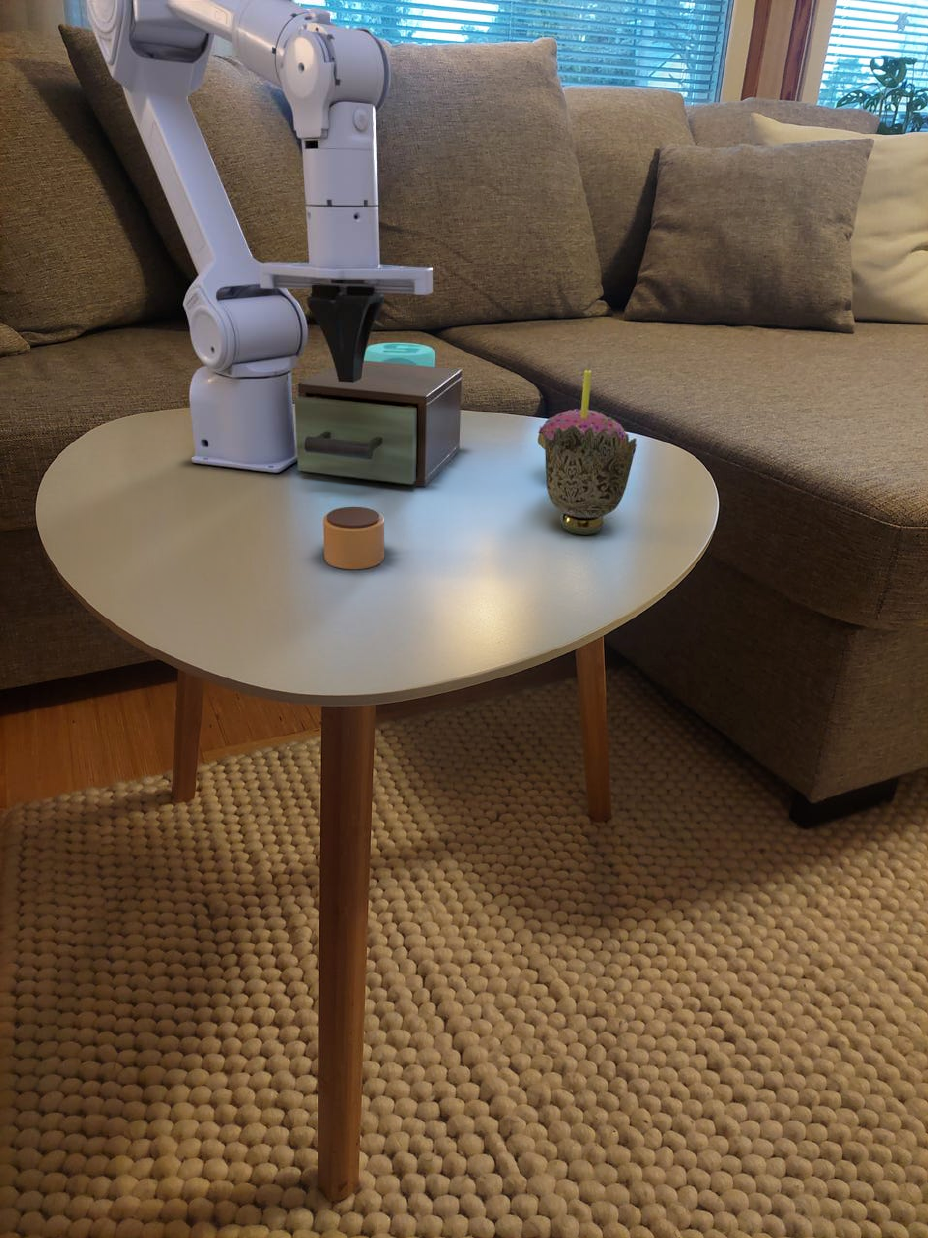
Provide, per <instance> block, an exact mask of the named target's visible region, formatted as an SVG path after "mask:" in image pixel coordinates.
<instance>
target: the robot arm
mask: <svg viewBox="0 0 928 1238" xmlns="http://www.w3.org/2000/svg"><path fill="white" fill-rule="evenodd" d="M86 18H87V21H88V23H89V26H90V28H91V30H92V33H93V35H94V37H95V39H96V42H97V45H98V47H99V49H100V51H101V54H102V56H103V59H104V61H105V64H106V66H107V68H108V71H109V73H110V75H111V77H112V79H113V80H115V81H116V82H117V83H118V84H119V85H121V87H122V90H123V94H124V97H125V100H126V103H127V105H128V108H129V111H130V113H131V116H132V118H133V121H134V123H135V125H136V128H137V130H138V133H139V136H140V137H141V140H142V142H143V145H144V147H145V149H146V152H147V154H148V156H149V160H150V161H151V164H152V167H153V169H154V171H155V173H156V176H157V179H158V180H159V183H160V185H161V188H162V190H163V192H164V195H165V198H166V199H167V200H166V201H167V202H168V204H169V205H168V206H169V207H170V209H171V212H172V214H173V217H174V219H175V221H176V224H177V226H178V229H179V231H180V233H181V236H182V238H183V241H184V243H185V245H186V248H187V250H188V253H189V256H190V258H191V260H192V263H193V265H194V267H195V269H196V272H197V274H198V275H197V276H196V278H195V279H194V281H193V282H192V283H191V285H190V286H189V288H188V289H187V291H186V293H185V296H184V298H183V303H182V306H183V308H184V311H185V313H186V317H187V321H188V325H189V335H190V339H191V344H192V347H193V350H194V352H195V354H196V355H197V357H198V359H199V360H200V361H201V362H202V364H203V365H204V366H200V368H198V369H197V370H196V371H195V372H194V374H193V376H192V378H191V381H190V385H189V394H188V395H189V399H188V400H189V409H190V420H191V429H192V436H193V446H194V456H192V457H191V463H194V464H201V465H209V466H215V467H216V466H217V467H223V468H224V467H225V468H231V469H241V470H247V471H248V470H249V471H250V470H251V471H257V472H266V473H274V474H279V473H281V472H282V471H284V470H286V469H287V468H288V467H290V466H291V465H292V464H295V463H296V462H298V458H297V444H296V440H295V428H294V427H295V425H294V407H293V405H294V404H293V388H292V370H294V369H297V368H298V363H297V361H298V360H297V359H299V358H300V357H301V356H302V355H303V353H304V352H305V349H306V347H307V341H308V334H309V333H308V330H309V329H308V323H307V319H306V316H305V313H304V311H303V308H302V306H301V305H300V304H299V302H298V301H297V299H296V298H294V297H293V295H291V293H290V292H289V289H292V290H311V293H310V296H307V297H306V304H307V307H308V309H309V311H310V312H311V314H312V316H313V317H314V319H315V321H316V323H317V324H318V326H319V328H320V330H321V332H322V334H323V337H324V339H325V341H326V344H327V347H328V349H329V352H330V355H331V358H332V362H333V364H334V365H333V366H335V368H336V372H337V376H338V381H339V382H349V383H354V382H356V381H358V380H360V379H361V377H362V368H363V362H364V357H365V352H366V349H367V348H368V344H369V340H370V336H371V334H372V331H373V327H374V325H375V322H376V320H377V317H378V316H379V313H380V311H381V309H382V307H383V305H384V303H385V294H382V293H389V294H390V293H391V294H413V295H414V296H427V295H430V294H433V293H434V268H433V267H425V266H424V267H421V266H408V265H407V266H405V265H393V264H392V265H390V264H381V261H380V237H379V236H380V235H379V234H380V233H379V229H380V228H379V207H378V206H379V196H378V195H379V193H378V189H379V188H378V161H377V160H378V159H377V130H376V127H377V126H376V125H377V123H376V115H377V114H378V113H379V112H380V110H382V108H383V106H384V105H385V103H386V101H387V98H388V96H389V92H390V89H391V76H392V74H391V63H390V58H389V55H388V52H387V49H386V47H385V45H384V44H383V42H382V41H381V39H380V38H379V37H377V36H376V35H375V34H373V33H372V31H371V30H370V29H369V28H367V27H356V28H350V27H349V28H348V27H342V26H337V25H336V24H335V23H334V22H333V21H332V20H331V19H332V14H331V13H330V12H329V11H327V10H325V9H323V8H318V7H311V8H310V9H307V8H305V7H304V6H301V5H299V4H297V3H295V2H294V0H86ZM215 36H217V37H219V38H221V39H223V40H226V41H228V42H230V43H232V46H233V49H234V53H235V55H236V57H237V59H238V61H239V62H240V63H241V65H242V66H244V67H245V68H246V69H247V70H248V71H250V72H252V73H253V74H255V75H256V76H259V77H260V78H262V79H264V80H266V81H267V82H269V83H271V84H272V85H274V86H276V87H278V88H279V89H281V90H283V91H282V92H283V93H284V96H285V99H286V100H287V102H288V104H289V106H290V109H291V114H292V121H293V131H295V132H296V137H297V138H298V139H300V140H301V152H302V153H301V154H302V167H303V170H302V171H303V183H304V184H303V185H304V186H303V187H304V201H305V216H306V231H307V247H308V262H273V261H272V262H271V261H270V262H264V263H262V262H260V261H259V260H257V259H256V258H254V256H253V255H252V252H251V250H250V248H249V246H248V243H247V241H246V238H245V236H244V233H243V231H242V228H241V226H240V224H239V221H238V218H237V216H236V214H235V212H234V209H233V207H232V204H231V202H230V200H229V196H228V194H227V192H226V190H225V187H224V185H223V182H222V180H221V177H220V175H219V172H218V170H217V167H216V165H215V163H214V161H213V158H212V156H211V153H210V151H209V148H208V146H207V143H206V141H205V138H204V136H203V134H202V131H201V129H200V127H199V124H198V122H197V119H196V117H195V115H194V112H193V109H192V107H191V105H190V102H189V96H190V95H191V94H192V93H193V92H195V91H197V89H200V88H201V87H202V85H203V82H204V77H205V74H206V69H207V66H208V62H209V58H210V53H211V51H212V46H213V42H214V38H215ZM328 280H336V281H338V280H339V281H341V280H342V281H363V283H364V284H363V283H362V284H361V283H337V282H336V283H335V282H323V281H328Z"/></svg>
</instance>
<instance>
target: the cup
mask: <svg viewBox="0 0 928 1238" xmlns="http://www.w3.org/2000/svg"><path fill="white" fill-rule="evenodd" d="M583 434H584V435H583ZM626 434H627V435H626V436H625V438H623V439H622V441H621V443H620V438H619V436H618V433H617V432H616V431H613V432H612V434H611V435H610V434H609V433H608V431H607V429H606V428H605V429H603V430H602V431H600V432H599V433H598V435H597V436H596V438H594V435H593V428H592V427H590V428H588V429H587V430H586V431H585V433H582V434H581V433H580V430H578V429H577V428H576V427H575V426H570V427H568V428H567V429H566V430H564V431H563V432H562V430H561V429H560V428H556V429H555V430H554V437H553V440H551V439H550V440H549V437H548V436H547V434H546V435H545V449H544V453H545V479H546V487H547V494H548V496H549V500H550V501H551V503H552V505H553V506H554V507H555V508H556V510H558V511H560V512H561V515H560V518H559V521H560V523H561V526H562V528H563V529H564V530H566V531H567V532H569V533H571V534H576V535H581V536H582V535H583V536H586V535H587V536H588V535H593V534H596V533H598V532H600V531H601V529H602V528H603V526H604V524H605V519H604V516H607V515H609V514H610V513H612V512H613V511H615V510H616V508H617V507H618V506H619V505H620V503H621V502H622V499H623V497H624V495H625V491H626V488H627V485H628V482H629V477H630V474H631V470H632V466H633V461H634V457H635V454H636V450H637V445H638V443H637V438H633V439H630V438H629V437H630V436H629V434H628V433H626Z"/></svg>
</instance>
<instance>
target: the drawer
mask: <svg viewBox="0 0 928 1238" xmlns="http://www.w3.org/2000/svg"><path fill="white" fill-rule="evenodd" d="M293 400H294V419H295V420H294V421H295V435H296V440H295V441H296V445H297V458H298V460H297V470H298V471H299V472H300V471H301V472H302V471H307V472H315V473H323V474H331V475H339V476H347V477H356V478H364V479H372V480H380V481H388V482H397V483H405V484H413V483H414V482H415V481H416V469H417V468H418V405H419V404H411V403H401V402H392V401H382V400H372V399H362V398H352V397H342V396H333V395H323V394H316V395H314V396H313V398H311V397H301V396H300V397H299V396H297V397H296V398H294V399H293ZM307 472H306V473H307ZM315 473H314V474H315ZM323 474H322V475H323ZM331 475H330V476H331ZM339 476H338V477H339ZM347 477H346V478H347ZM356 478H355V479H356ZM364 479H363V480H364ZM372 480H371V481H372ZM380 481H379V482H380ZM388 482H387V483H388ZM405 484H404V485H405Z"/></svg>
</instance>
